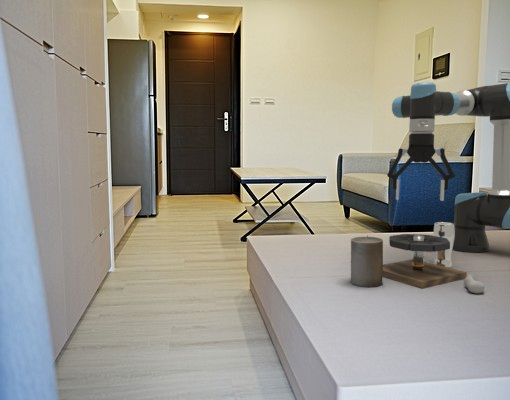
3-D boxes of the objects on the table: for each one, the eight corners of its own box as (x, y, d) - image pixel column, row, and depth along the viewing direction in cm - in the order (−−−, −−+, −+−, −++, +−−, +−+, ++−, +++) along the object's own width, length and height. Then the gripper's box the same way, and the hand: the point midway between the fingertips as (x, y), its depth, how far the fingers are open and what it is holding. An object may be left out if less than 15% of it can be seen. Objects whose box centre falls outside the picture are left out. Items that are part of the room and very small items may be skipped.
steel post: (417, 267, 157) (418, 234, 156) (426, 269, 154) (427, 236, 152) (409, 269, 155) (410, 235, 154) (418, 271, 152) (419, 237, 150)
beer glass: (455, 268, 163) (457, 225, 161) (434, 267, 164) (435, 224, 163) (451, 263, 170) (452, 222, 168) (430, 262, 171) (432, 221, 170)
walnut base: (413, 264, 169) (413, 258, 169) (466, 278, 151) (466, 272, 151) (370, 272, 158) (370, 267, 158) (422, 288, 140) (422, 282, 140)
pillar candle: (383, 279, 150) (384, 233, 148) (381, 288, 140) (381, 238, 139) (352, 277, 153) (352, 231, 151) (348, 286, 144) (348, 237, 142)
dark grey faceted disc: (415, 237, 166) (415, 232, 165) (460, 247, 150) (460, 240, 150) (378, 243, 156) (378, 237, 156) (422, 254, 141) (422, 247, 141)
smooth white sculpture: (484, 299, 134) (466, 293, 135) (477, 290, 142) (460, 284, 142) (490, 285, 133) (471, 279, 134) (482, 277, 141) (465, 271, 142)
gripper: (381, 133, 149) (379, 200, 151) (466, 132, 143) (463, 202, 145) (380, 133, 156) (379, 197, 158) (461, 133, 150) (459, 199, 152)
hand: (419, 200), depth 152 cm, fingers open, 13 cm apart
